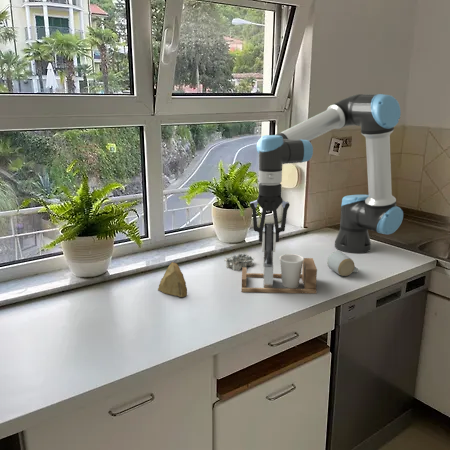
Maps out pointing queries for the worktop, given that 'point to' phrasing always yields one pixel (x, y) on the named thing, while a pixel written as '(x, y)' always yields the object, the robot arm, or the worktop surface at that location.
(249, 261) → the egg carton
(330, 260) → the ceramic mug
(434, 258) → the worktop surface
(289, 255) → the dixie cup
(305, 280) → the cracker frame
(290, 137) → the robot arm
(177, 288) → the rock
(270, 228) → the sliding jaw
